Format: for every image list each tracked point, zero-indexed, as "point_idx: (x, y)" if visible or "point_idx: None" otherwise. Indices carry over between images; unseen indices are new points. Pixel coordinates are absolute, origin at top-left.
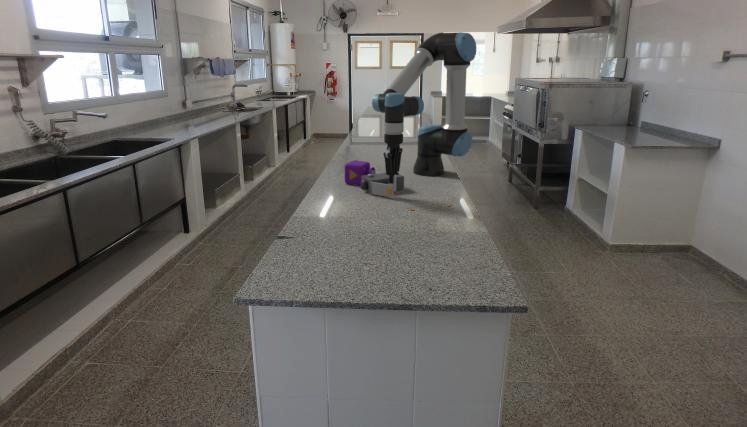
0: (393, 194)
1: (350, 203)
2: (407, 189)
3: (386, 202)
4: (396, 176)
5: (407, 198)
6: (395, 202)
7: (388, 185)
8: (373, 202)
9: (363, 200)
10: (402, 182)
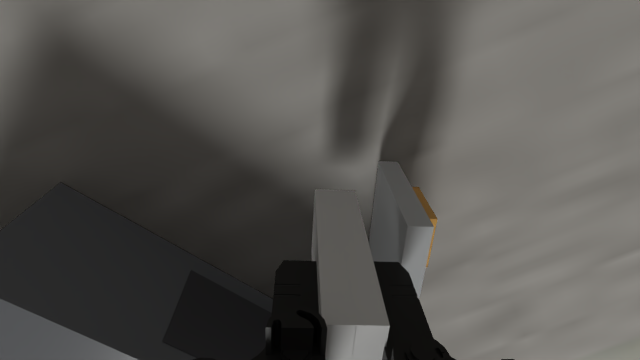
0: (391, 173)
1: (608, 354)
2: (16, 156)
3: (525, 161)
4: (33, 345)
5: (321, 27)
6: (503, 88)
7: (419, 278)
8: (551, 248)
9: (518, 321)
10: (28, 235)
